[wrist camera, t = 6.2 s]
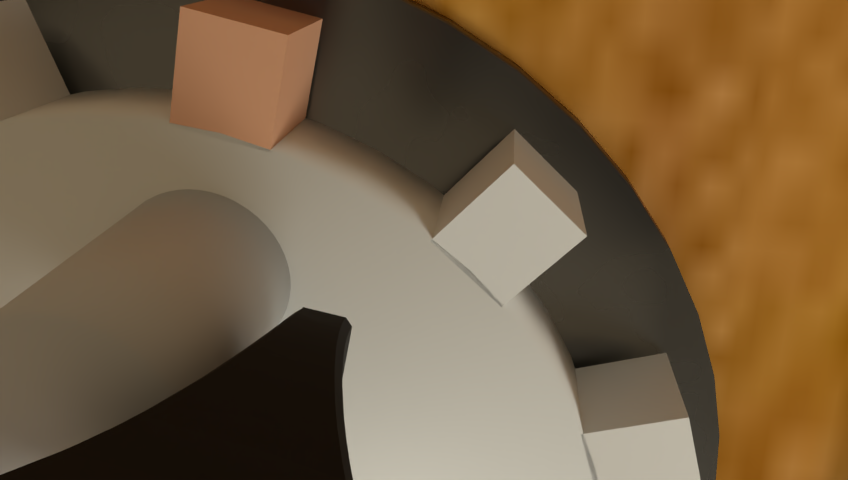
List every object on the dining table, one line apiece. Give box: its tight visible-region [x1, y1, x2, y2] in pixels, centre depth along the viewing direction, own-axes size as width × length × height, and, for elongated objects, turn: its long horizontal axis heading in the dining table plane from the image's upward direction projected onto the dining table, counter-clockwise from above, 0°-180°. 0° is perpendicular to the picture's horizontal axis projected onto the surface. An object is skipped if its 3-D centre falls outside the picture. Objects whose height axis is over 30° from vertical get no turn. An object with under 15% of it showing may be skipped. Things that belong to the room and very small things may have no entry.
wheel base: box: [0, 0, 719, 480], centre depth 16 cm, size 22×24×2 cm
